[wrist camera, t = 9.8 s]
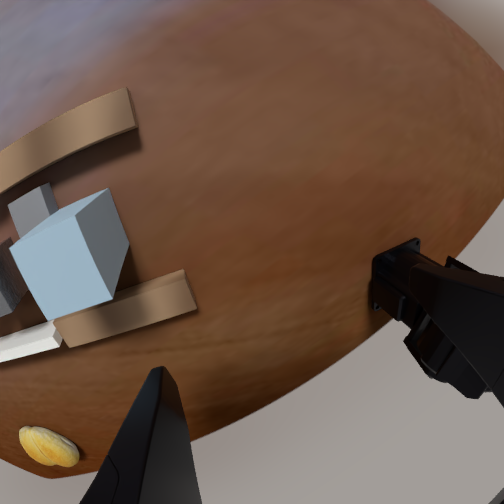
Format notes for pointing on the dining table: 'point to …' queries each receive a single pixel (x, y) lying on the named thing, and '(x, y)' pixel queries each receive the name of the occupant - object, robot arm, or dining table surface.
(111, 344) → the dining table surface
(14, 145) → the slot rails
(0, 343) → the white bevelled strip
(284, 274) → the dining table surface
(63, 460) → the bread roll
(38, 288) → the light blue block
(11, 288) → the block
